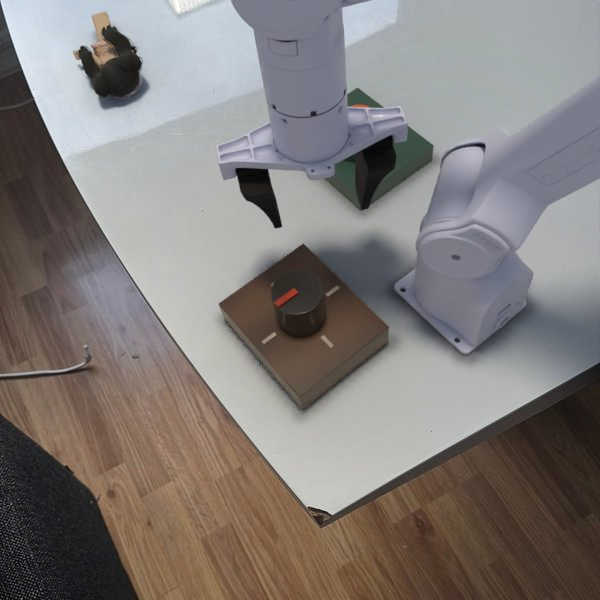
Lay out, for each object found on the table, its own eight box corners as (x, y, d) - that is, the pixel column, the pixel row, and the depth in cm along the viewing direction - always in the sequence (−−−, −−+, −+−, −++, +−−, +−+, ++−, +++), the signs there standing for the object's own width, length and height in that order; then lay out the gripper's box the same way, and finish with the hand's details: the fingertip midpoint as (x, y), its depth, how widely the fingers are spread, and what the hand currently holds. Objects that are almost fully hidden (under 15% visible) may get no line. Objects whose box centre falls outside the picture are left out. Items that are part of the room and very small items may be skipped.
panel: (388, 342, 60) (389, 326, 57) (302, 410, 57) (299, 396, 54) (306, 260, 65) (303, 241, 62) (224, 319, 62) (217, 302, 60)
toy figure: (67, 48, 86) (102, 113, 78) (52, 2, 81) (88, 67, 73) (120, 33, 88) (159, 95, 80) (108, -13, 83) (149, 48, 75)
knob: (305, 284, 60) (301, 258, 56) (336, 316, 58) (333, 291, 54) (267, 312, 59) (259, 287, 55) (296, 346, 57) (291, 322, 53)
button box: (432, 159, 70) (435, 132, 66) (360, 210, 67) (360, 185, 64) (358, 102, 75) (357, 74, 72) (289, 147, 73) (285, 120, 69)
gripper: (210, 151, 44) (245, 264, 55) (423, 106, 44) (413, 228, 56) (198, 80, 47) (233, 200, 59) (395, 39, 47) (391, 166, 59)
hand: (319, 209), depth 57 cm, fingers open, 7 cm apart
